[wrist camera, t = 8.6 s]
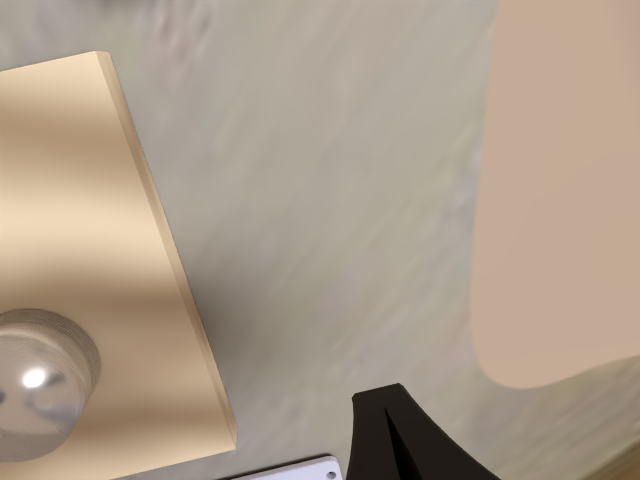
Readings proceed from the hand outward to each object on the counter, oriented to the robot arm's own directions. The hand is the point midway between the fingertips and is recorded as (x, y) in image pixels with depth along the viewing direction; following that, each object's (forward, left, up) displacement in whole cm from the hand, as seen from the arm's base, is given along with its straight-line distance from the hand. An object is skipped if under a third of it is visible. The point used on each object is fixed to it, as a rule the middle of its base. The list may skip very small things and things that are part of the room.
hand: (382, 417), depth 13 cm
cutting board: (+2, +13, -9) cm, 16 cm away
